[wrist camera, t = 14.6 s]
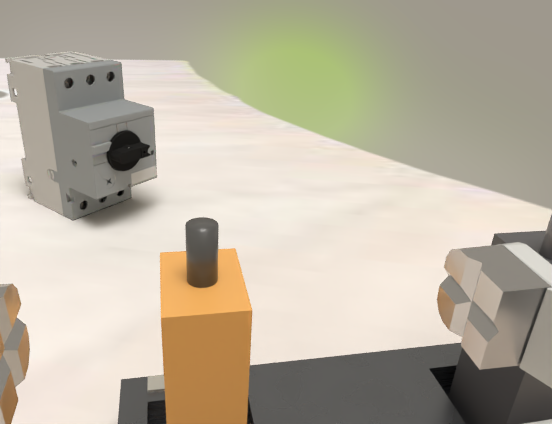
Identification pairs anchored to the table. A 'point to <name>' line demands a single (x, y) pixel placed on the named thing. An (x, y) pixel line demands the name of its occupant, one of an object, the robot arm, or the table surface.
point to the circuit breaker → (80, 132)
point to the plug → (205, 330)
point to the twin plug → (503, 370)
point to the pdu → (330, 390)
